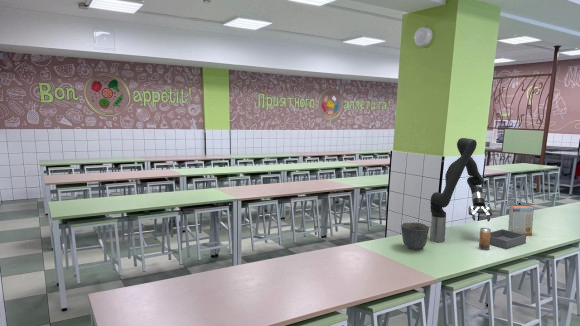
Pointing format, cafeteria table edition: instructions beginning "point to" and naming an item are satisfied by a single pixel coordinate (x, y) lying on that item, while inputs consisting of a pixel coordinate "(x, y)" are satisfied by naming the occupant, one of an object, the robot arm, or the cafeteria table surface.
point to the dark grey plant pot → (414, 235)
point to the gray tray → (506, 239)
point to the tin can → (484, 238)
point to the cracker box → (521, 219)
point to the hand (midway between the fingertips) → (481, 220)
